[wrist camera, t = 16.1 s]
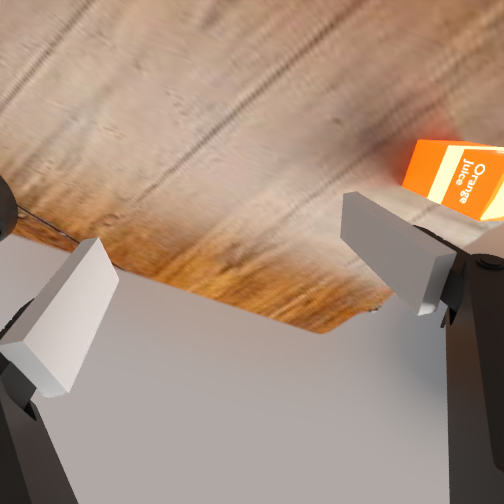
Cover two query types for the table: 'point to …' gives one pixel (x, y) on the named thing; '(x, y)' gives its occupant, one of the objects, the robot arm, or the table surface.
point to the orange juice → (459, 177)
